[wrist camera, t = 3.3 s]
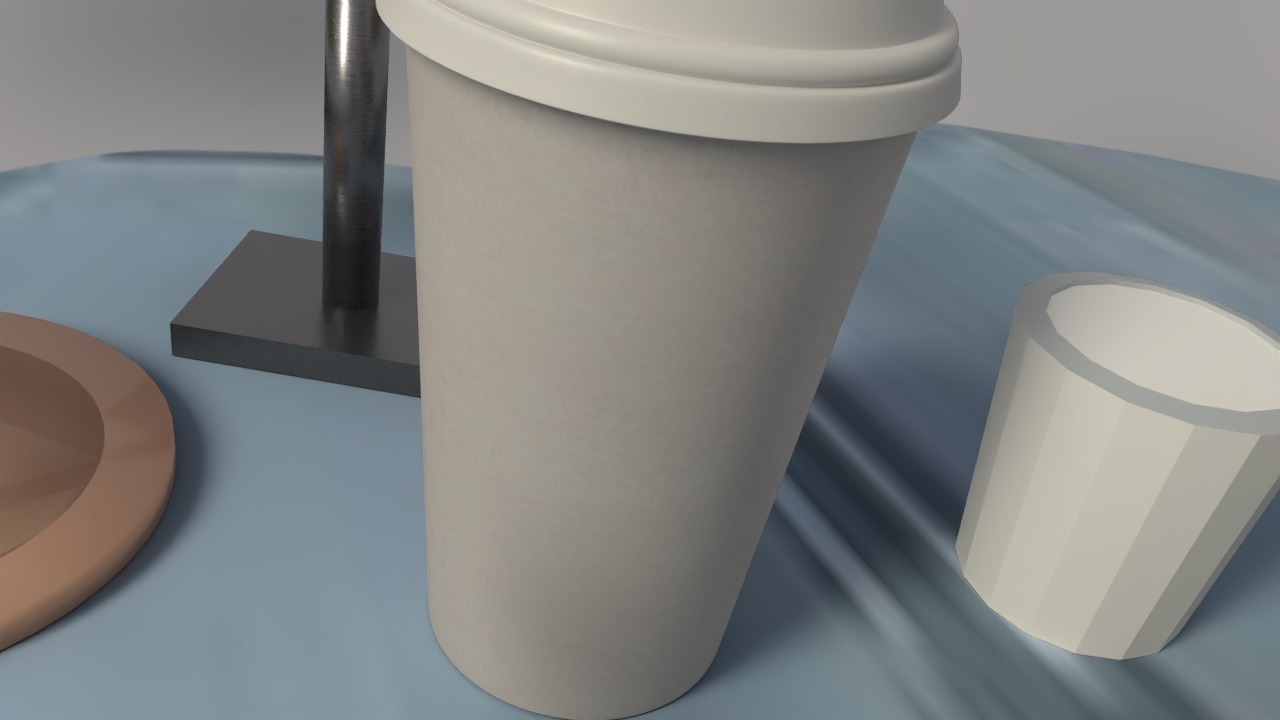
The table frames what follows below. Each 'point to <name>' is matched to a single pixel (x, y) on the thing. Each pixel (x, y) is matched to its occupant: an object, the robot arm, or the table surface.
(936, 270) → the table surface
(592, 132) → the coffee cup
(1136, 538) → the shot glass
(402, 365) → the balance
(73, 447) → the dish
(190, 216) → the table surface
